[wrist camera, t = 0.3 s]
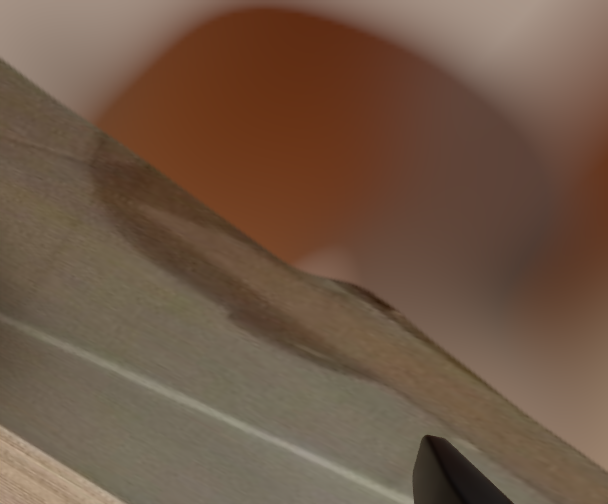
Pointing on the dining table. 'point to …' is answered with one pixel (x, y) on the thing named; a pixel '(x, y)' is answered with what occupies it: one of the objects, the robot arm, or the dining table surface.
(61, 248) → the dining table surface
